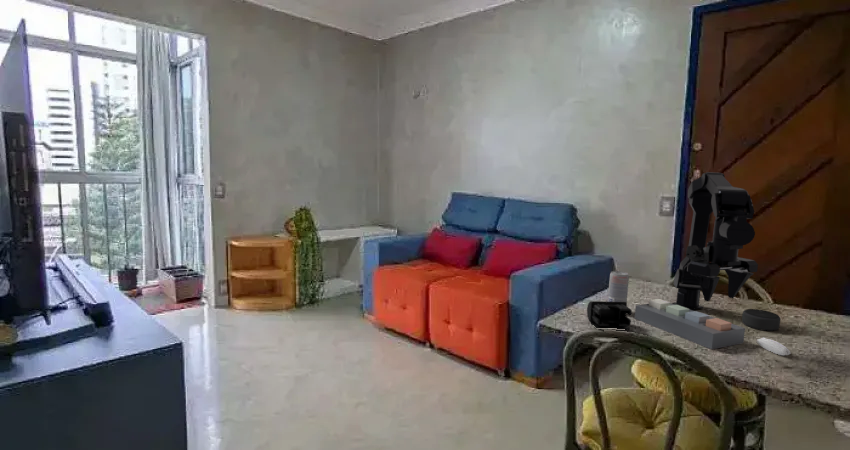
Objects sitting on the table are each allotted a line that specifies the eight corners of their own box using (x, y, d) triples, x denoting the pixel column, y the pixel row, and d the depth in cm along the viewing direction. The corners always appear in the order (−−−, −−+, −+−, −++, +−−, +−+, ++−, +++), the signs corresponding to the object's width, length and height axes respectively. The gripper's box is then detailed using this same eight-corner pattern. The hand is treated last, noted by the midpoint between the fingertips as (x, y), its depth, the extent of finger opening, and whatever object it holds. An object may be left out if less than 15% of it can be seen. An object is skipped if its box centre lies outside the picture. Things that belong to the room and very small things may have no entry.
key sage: (675, 313, 136) (676, 304, 136) (688, 317, 133) (689, 308, 132) (665, 314, 135) (666, 306, 134) (678, 319, 131) (679, 310, 131)
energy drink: (622, 309, 149) (626, 271, 147) (628, 314, 143) (631, 275, 142) (604, 308, 149) (608, 270, 148) (609, 313, 144) (613, 274, 142)
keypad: (663, 314, 145) (665, 301, 144) (743, 343, 123) (745, 328, 122) (634, 318, 140) (635, 305, 139) (711, 349, 118) (713, 333, 118)
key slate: (694, 319, 131) (695, 311, 131) (708, 324, 127) (709, 315, 127) (684, 321, 129) (685, 312, 129) (698, 326, 126) (699, 317, 125)
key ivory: (658, 306, 142) (658, 298, 141) (669, 310, 138) (670, 302, 138) (648, 308, 140) (649, 300, 140) (659, 312, 137) (660, 303, 136)
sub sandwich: (782, 359, 114) (783, 347, 114) (753, 345, 122) (755, 335, 122) (793, 358, 115) (794, 347, 114) (764, 345, 122) (765, 334, 122)
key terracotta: (715, 327, 125) (716, 318, 125) (730, 332, 122) (731, 322, 122) (705, 328, 124) (706, 319, 124) (719, 334, 120) (721, 324, 120)
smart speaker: (776, 324, 138) (778, 311, 138) (781, 334, 131) (783, 320, 130) (739, 319, 142) (741, 306, 142) (743, 328, 135) (744, 314, 134)
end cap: (620, 321, 137) (622, 298, 136) (631, 330, 130) (633, 306, 129) (585, 321, 137) (587, 298, 136) (595, 330, 130) (597, 306, 129)
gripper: (720, 233, 131) (714, 288, 133) (671, 235, 124) (665, 294, 126) (762, 239, 121) (755, 299, 123) (712, 242, 113) (705, 306, 116)
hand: (719, 299), depth 122 cm, fingers open, 9 cm apart
